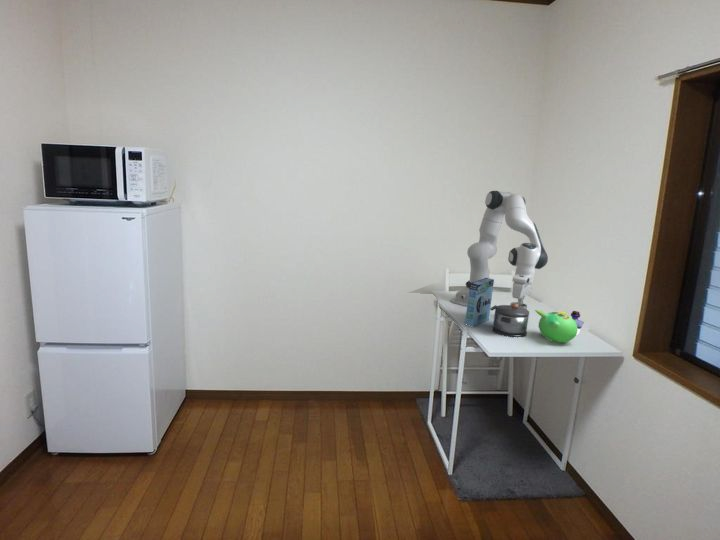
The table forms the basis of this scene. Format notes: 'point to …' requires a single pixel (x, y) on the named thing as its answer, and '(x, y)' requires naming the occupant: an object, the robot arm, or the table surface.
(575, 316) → the potion bottle
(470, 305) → the gum box
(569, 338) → the toy bird
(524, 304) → the cup
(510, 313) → the lid
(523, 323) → the cooker pot
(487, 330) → the table surface
